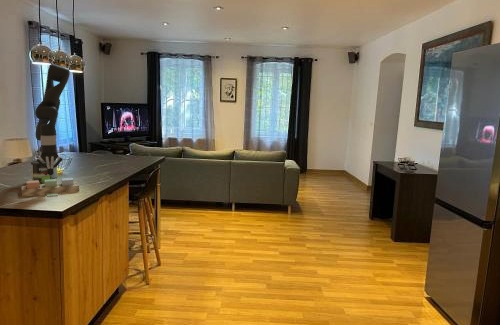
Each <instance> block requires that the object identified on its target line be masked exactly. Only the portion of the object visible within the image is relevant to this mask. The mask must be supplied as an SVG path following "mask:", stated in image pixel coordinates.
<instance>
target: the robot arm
mask: <svg viewBox="0 0 500 325" xmlns="http://www.w3.org/2000/svg"><path fill="white" fill-rule="evenodd" d="M70 73H71V71H70V69H69V68H68V67H65V66H61V65H57V64H54V63H51V64H50V65H49V66H48V69H47V75H46V81H45V82H46V84H45V90H44V94H43V99H42V101H41V102H40V103H39V104H38V105H37V107H36V108H35V112H34V113H35V114H34V115H35V117H36V118H37V119H38V121H37V126H36V129H35V138H36V140H37V141H39V142H40V146H39V157H38V158H37V159H36V161H37V162H39V163H40V164H41V165H42V166H43V167H44V168H47V172H48V175H49V176H50V175H51V179H56V178H58V165H59V164H60V163H61V162H62V161H63V157H61V156H59V154H58V148H57V143H58V142H57V130H56V124H57V121H58V117H59V111H60V106H61V105H60V104H61V99H60V97H61V96H62V93H63V91H64V89H65V87H66V86H67V84H68V82H69V78H70ZM54 82H57V84H56V85H54ZM41 161H45V162H46V164H47V166H46V165H44V164H43V163H42V162H41ZM49 162H51V168H50V166H49Z"/></svg>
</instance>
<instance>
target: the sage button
mask: <svg viewBox="0 0 500 325" xmlns="http://www.w3.org/2000/svg"><path fill="white" fill-rule="evenodd" d="M44 182H45V187H57V183H58V182H57V179H56V178H51V179H49V180H44Z"/></svg>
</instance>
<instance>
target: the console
mask: <svg viewBox="0 0 500 325" xmlns="http://www.w3.org/2000/svg"><path fill="white" fill-rule="evenodd" d="M77 192H78V193H79V192H80V185H79V183H78V182H77V181H74V185H69V186H62V182H57V187H45V184H41V185H39V188H32V189H27V185H21V197H23V198H25V197H33V196H44V195H46V196H47V194H49V193H57V194H58V195H59V194H68V193H77Z"/></svg>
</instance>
